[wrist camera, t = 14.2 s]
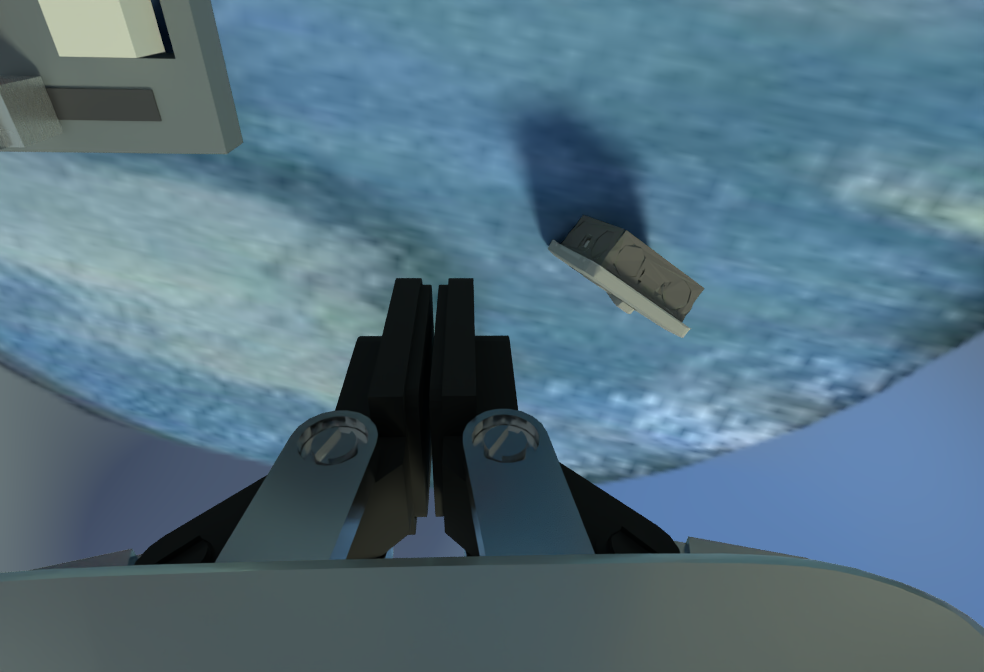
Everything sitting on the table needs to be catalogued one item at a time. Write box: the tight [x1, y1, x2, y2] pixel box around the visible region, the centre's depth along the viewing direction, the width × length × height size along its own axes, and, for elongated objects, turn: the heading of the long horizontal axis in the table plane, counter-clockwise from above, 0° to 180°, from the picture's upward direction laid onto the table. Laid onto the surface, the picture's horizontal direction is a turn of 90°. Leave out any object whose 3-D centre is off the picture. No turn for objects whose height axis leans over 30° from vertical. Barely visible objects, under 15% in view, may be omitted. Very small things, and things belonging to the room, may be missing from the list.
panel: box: [0, 0, 243, 154], centre depth 32 cm, size 11×18×3 cm, turn 89°
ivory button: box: [38, 0, 165, 58], centre depth 28 cm, size 4×4×3 cm
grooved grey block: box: [0, 76, 63, 150], centre depth 30 cm, size 3×2×4 cm
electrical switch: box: [548, 215, 704, 338], centre depth 39 cm, size 9×5×9 cm, turn 54°
